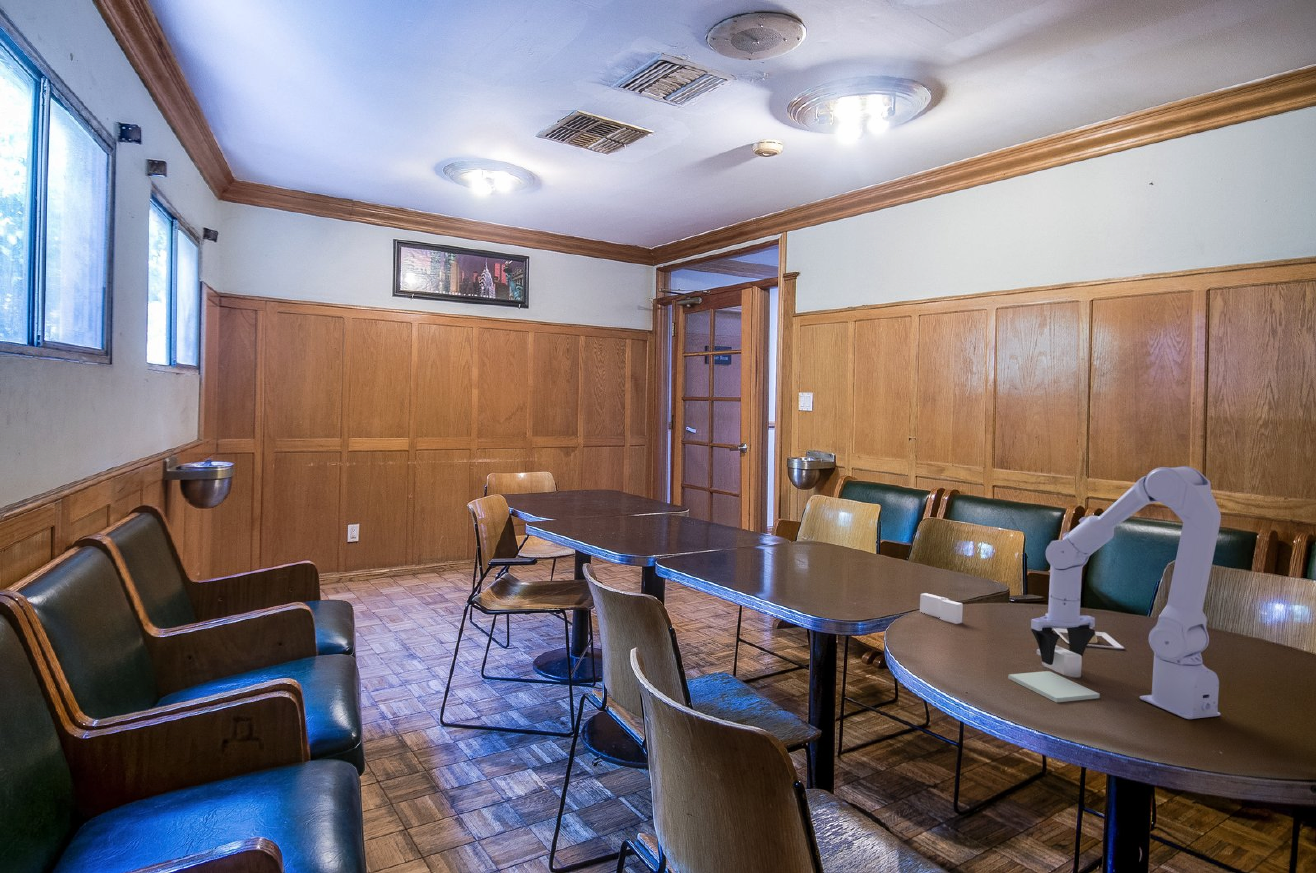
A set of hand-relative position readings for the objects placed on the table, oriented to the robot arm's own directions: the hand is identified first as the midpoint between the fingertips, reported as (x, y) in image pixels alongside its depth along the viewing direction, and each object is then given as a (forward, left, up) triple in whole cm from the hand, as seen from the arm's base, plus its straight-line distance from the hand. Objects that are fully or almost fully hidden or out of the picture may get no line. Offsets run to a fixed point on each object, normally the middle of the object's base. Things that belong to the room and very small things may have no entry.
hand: (1061, 661), depth 150 cm
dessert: (+15, -23, -2) cm, 28 cm away
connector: (0, 0, -2) cm, 2 cm away
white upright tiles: (+38, +1, -2) cm, 38 cm away
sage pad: (-8, +10, -2) cm, 13 cm away
